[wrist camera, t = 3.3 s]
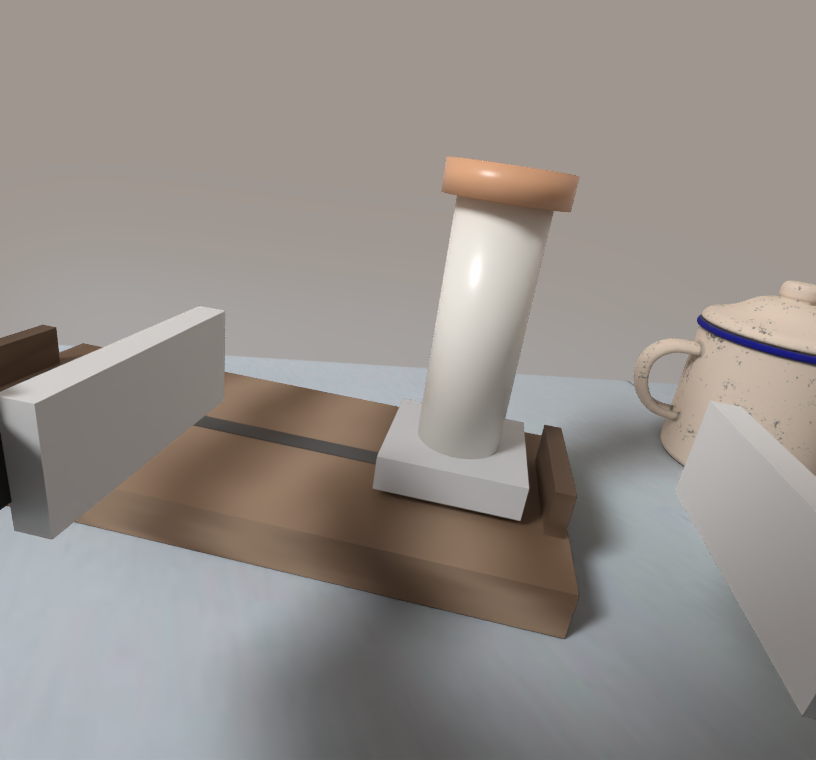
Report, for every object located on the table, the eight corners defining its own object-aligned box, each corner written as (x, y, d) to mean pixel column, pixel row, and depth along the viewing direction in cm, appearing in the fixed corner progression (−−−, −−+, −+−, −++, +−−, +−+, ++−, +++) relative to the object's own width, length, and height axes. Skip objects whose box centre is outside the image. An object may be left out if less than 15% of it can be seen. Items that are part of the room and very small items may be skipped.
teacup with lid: (766, 442, 38) (838, 281, 34) (847, 517, 30) (956, 317, 25) (598, 412, 39) (647, 251, 35) (631, 477, 31) (701, 276, 26)
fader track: (541, 468, 30) (559, 404, 28) (564, 638, 19) (595, 548, 17) (85, 373, 33) (80, 311, 31) (-127, 473, 22) (-151, 383, 20)
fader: (516, 449, 27) (584, 179, 22) (520, 520, 21) (612, 179, 16) (399, 425, 27) (440, 157, 22) (372, 488, 22) (419, 150, 17)
